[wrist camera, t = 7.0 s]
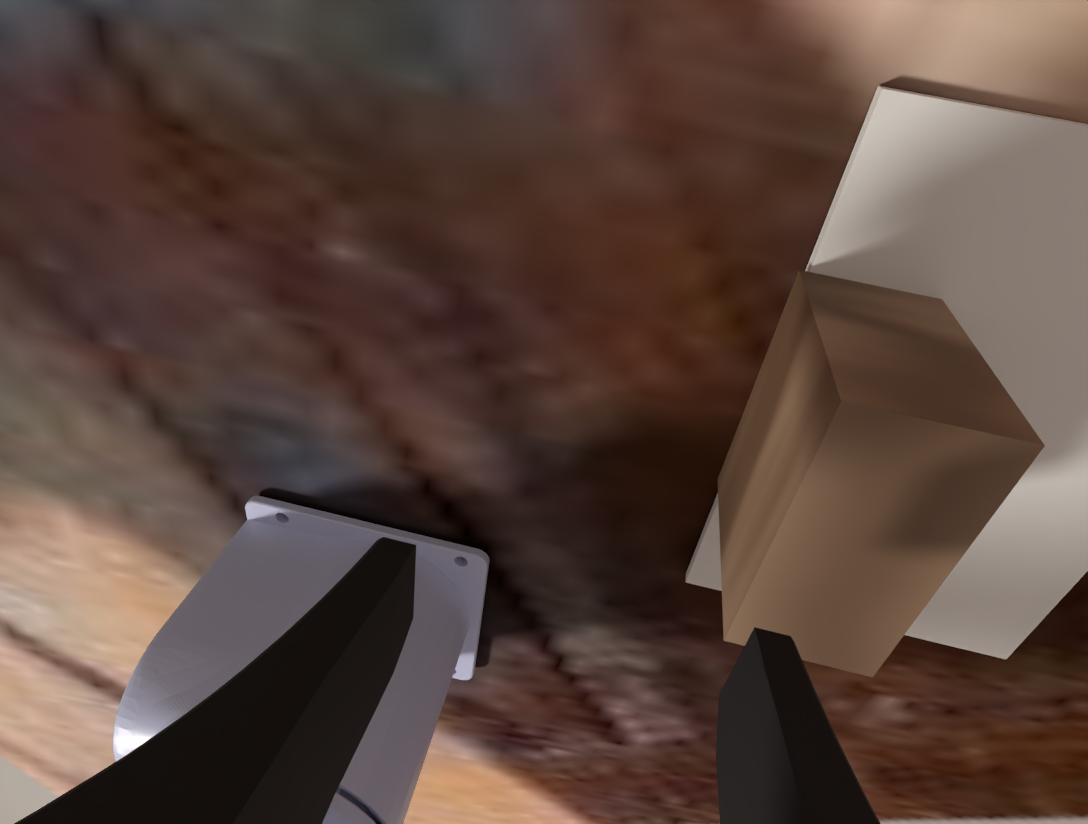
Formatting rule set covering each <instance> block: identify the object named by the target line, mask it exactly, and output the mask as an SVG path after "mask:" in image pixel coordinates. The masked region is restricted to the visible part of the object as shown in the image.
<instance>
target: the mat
mask: <svg viewBox="0 0 1088 824" xmlns="http://www.w3.org/2000/svg"><path fill="white" fill-rule="evenodd" d="M805 271H807V272H812V273H817V274H822V275H827V276H832V277H836V278H841V279H846V280H851V281H856V282H861V283H866V284H870V285H875V286H880V287H885V288H890V289H895V290H900V291H904V292H909V293H914V294H919V295H924V296H929V297H934V298H939V299H942V300H943V301H944V303H945V304H946V305H947V307H948V308H949V310H950V311H951V313H952V314H953V315H954V317H955V318H956V320H957V321H958V323H959V324H960V325H961V327H962V328H963V330H964V331H965V332H966V334H967V335H968V337H969V338H970V340H971V341H972V342H973V344H974V345H975V347H976V348H977V350H978V351H979V352H980V354H981V355H982V357H983V358H984V360H985V361H986V362H987V364H988V365H989V367H990V368H991V369H992V371H993V372H994V374H995V375H996V377H997V378H998V379H999V381H1000V382H1001V384H1002V385H1003V387H1004V388H1005V389H1006V391H1007V392H1008V394H1009V395H1010V397H1011V398H1012V399H1013V401H1014V402H1015V404H1016V405H1017V406H1018V408H1019V409H1020V411H1021V412H1022V414H1023V415H1024V416H1025V418H1026V419H1027V421H1028V422H1029V424H1030V425H1031V426H1032V428H1033V429H1034V431H1035V432H1036V434H1037V435H1038V436H1039V438H1040V439H1041V441H1042V442H1043V443H1044V445H1045V446H1044V448H1043V449H1042V450H1041V452H1040V453H1039V454H1038V456H1037V457H1036V459H1035V460H1034V461H1033V463H1032V464H1031V465H1030V467H1029V468H1028V469H1027V471H1026V472H1025V473H1024V475H1023V476H1022V477H1021V479H1020V480H1019V481H1018V483H1017V484H1016V485H1015V487H1014V488H1013V489H1012V491H1011V492H1010V493H1009V495H1008V496H1007V497H1006V499H1005V500H1004V501H1003V503H1002V504H1001V506H1000V507H999V508H998V510H997V511H996V512H995V514H994V515H993V516H992V518H991V519H990V520H989V522H988V523H987V524H986V526H985V527H984V528H983V530H982V531H981V532H980V534H979V535H978V536H977V538H976V539H975V540H974V542H973V543H972V544H971V546H970V547H969V549H968V550H967V551H966V553H965V554H964V555H963V557H962V558H961V559H960V561H959V562H958V563H957V565H956V566H955V567H954V569H953V570H952V571H951V573H950V574H949V575H948V577H947V578H946V579H945V581H944V582H943V583H942V585H941V586H940V587H939V589H938V590H937V592H936V593H935V594H934V596H933V597H932V598H931V600H930V601H929V602H928V604H927V605H926V606H925V608H924V609H923V610H922V612H921V613H920V614H919V616H918V617H917V618H916V620H915V621H914V622H913V624H912V625H911V626H910V628H909V629H908V630H907V632H906V633H905V635H906V636H911V637H915V638H919V639H923V640H927V641H931V642H936V643H940V644H944V645H948V646H952V647H956V648H960V649H965V650H969V651H973V652H977V653H981V654H985V655H990V656H994V657H998V658H1002V659H1007V658H1008V657H1009V656H1010V655H1011V654H1012V653H1013V652H1014V650H1015V649H1016V648H1017V647H1018V646H1019V645H1020V644H1021V643H1022V642H1023V641H1024V640H1025V639H1026V637H1027V636H1028V635H1029V634H1030V633H1031V632H1032V631H1033V630H1034V629H1035V628H1036V627H1037V625H1038V624H1039V623H1040V622H1041V621H1042V620H1043V619H1044V618H1045V617H1046V616H1047V615H1048V613H1049V612H1050V611H1051V610H1052V609H1053V608H1054V607H1055V606H1056V605H1057V604H1058V603H1059V602H1060V600H1061V599H1062V598H1063V597H1064V596H1065V595H1066V594H1067V593H1068V592H1069V591H1070V590H1071V588H1072V587H1073V586H1074V585H1075V584H1076V583H1077V582H1078V581H1079V580H1080V579H1081V578H1082V577H1083V575H1084V574H1085V573H1086V572H1087V571H1088V124H1085V123H1080V122H1074V121H1069V120H1063V119H1058V118H1053V117H1047V116H1042V115H1036V114H1031V113H1025V112H1020V111H1014V110H1009V109H1003V108H998V107H992V106H987V105H982V104H976V103H971V102H965V101H960V100H954V99H949V98H943V97H938V96H932V95H927V94H921V93H916V92H910V91H905V90H900V89H894V88H889V87H883V86H878V88H877V90H876V93H875V95H874V98H873V100H872V103H871V105H870V108H869V111H868V113H867V116H866V118H865V121H864V123H863V126H862V128H861V131H860V133H859V136H858V138H857V141H856V143H855V146H854V149H853V151H852V154H851V156H850V159H849V161H848V164H847V166H846V169H845V171H844V174H843V176H842V179H841V181H840V184H839V187H838V189H837V192H836V194H835V197H834V199H833V202H832V204H831V207H830V209H829V212H828V214H827V217H826V219H825V222H824V225H823V227H822V230H821V232H820V235H819V237H818V240H817V242H816V245H815V247H814V250H813V252H812V255H811V257H810V260H809V263H808V265H807V268H806V270H805ZM685 582H686V583H690V584H694V585H698V586H702V587H707V588H711V589H715V590H719V591H722V583H721V557H720V531H719V505H718V493H717V496H716V498H715V501H714V503H713V506H712V508H711V511H710V513H709V516H708V518H707V521H706V524H705V526H704V529H703V531H702V534H701V536H700V539H699V541H698V544H697V546H696V549H695V551H694V554H693V556H692V559H691V562H690V564H689V567H688V569H687V572H686V581H685Z"/></svg>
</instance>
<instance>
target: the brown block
mask: <svg viewBox="0 0 1088 824" xmlns="http://www.w3.org/2000/svg"><path fill="white" fill-rule="evenodd" d="M1044 446H1045V445H1044V443H1043V442H1042V441H1041V439H1040V438H1039V436H1038V435H1037V434H1036V432H1035V431H1034V429H1033V428H1032V426H1031V425H1030V424H1029V422H1028V421H1027V419H1026V418H1025V416H1024V415H1023V414H1022V412H1021V411H1020V409H1019V408H1018V406H1017V405H1016V404H1015V402H1014V401H1013V399H1012V398H1011V397H1010V395H1009V394H1008V392H1007V391H1006V389H1005V388H1004V387H1003V385H1002V384H1001V382H1000V381H999V379H998V378H997V377H996V375H995V374H994V372H993V371H992V369H991V368H990V367H989V365H988V364H987V362H986V361H985V360H984V358H983V357H982V355H981V354H980V352H979V351H978V350H977V348H976V347H975V345H974V344H973V342H972V341H971V340H970V338H969V337H968V335H967V334H966V332H965V331H964V330H963V328H962V327H961V325H960V324H959V323H958V321H957V320H956V318H955V317H954V315H953V314H952V313H951V311H950V310H949V308H948V307H947V305H946V304H945V303H944V301H943V300H942V299H939V298H934V297H929V296H924V295H919V294H914V293H909V292H904V291H900V290H895V289H890V288H885V287H880V286H875V285H870V284H866V283H861V282H856V281H851V280H846V279H841V278H836V277H832V276H827V275H822V274H817V273H812V272H807V271H802V270H799V272H798V274H797V277H796V279H795V282H794V284H793V287H792V290H791V292H790V295H789V297H788V300H787V302H786V305H785V308H784V310H783V313H782V315H781V318H780V320H779V323H778V325H777V328H776V331H775V333H774V336H773V338H772V341H771V343H770V346H769V348H768V351H767V354H766V356H765V359H764V361H763V364H762V366H761V369H760V372H759V374H758V377H757V379H756V382H755V384H754V387H753V389H752V392H751V395H750V397H749V400H748V402H747V405H746V407H745V410H744V413H743V415H742V418H741V420H740V423H739V425H738V428H737V430H736V433H735V436H734V438H733V441H732V443H731V446H730V448H729V451H728V453H727V456H726V459H725V461H724V464H723V466H722V469H721V471H720V474H719V477H718V505H719V531H720V557H721V583H722V609H723V635H724V641H727V642H731V643H735V644H739V645H743V646H745V645H746V643H747V641H748V639H749V637H750V635H751V633H752V631H753V629H754V627H756V628H760V629H764V630H768V631H772V632H776V633H780V634H784V635H789V636H791V637H792V639H793V640H794V642H795V644H796V647H797V649H798V652H799V654H800V656H801V659H802V660H804V661H808V662H812V663H816V664H820V665H825V666H829V667H833V668H837V669H841V670H845V671H849V672H853V673H857V674H861V675H865V676H869V677H873V676H874V675H875V673H876V672H877V671H878V669H879V668H880V667H881V665H882V664H883V663H884V661H885V660H886V659H887V657H888V656H889V655H890V653H891V652H892V651H893V649H894V648H895V647H896V645H897V644H898V643H899V641H900V640H901V639H902V637H903V636H904V635H905V633H906V632H907V630H908V629H909V628H910V626H911V625H912V624H913V622H914V621H915V620H916V618H917V617H918V616H919V614H920V613H921V612H922V610H923V609H924V608H925V606H926V605H927V604H928V602H929V601H930V600H931V598H932V597H933V596H934V594H935V593H936V592H937V590H938V589H939V587H940V586H941V585H942V583H943V582H944V581H945V579H946V578H947V577H948V575H949V574H950V573H951V571H952V570H953V569H954V567H955V566H956V565H957V563H958V562H959V561H960V559H961V558H962V557H963V555H964V554H965V553H966V551H967V550H968V549H969V547H970V546H971V544H972V543H973V542H974V540H975V539H976V538H977V536H978V535H979V534H980V532H981V531H982V530H983V528H984V527H985V526H986V524H987V523H988V522H989V520H990V519H991V518H992V516H993V515H994V514H995V512H996V511H997V510H998V508H999V507H1000V506H1001V504H1002V503H1003V501H1004V500H1005V499H1006V497H1007V496H1008V495H1009V493H1010V492H1011V491H1012V489H1013V488H1014V487H1015V485H1016V484H1017V483H1018V481H1019V480H1020V479H1021V477H1022V476H1023V475H1024V473H1025V472H1026V471H1027V469H1028V468H1029V467H1030V465H1031V464H1032V463H1033V461H1034V460H1035V459H1036V457H1037V456H1038V454H1039V453H1040V452H1041V450H1042V449H1043V448H1044Z"/></svg>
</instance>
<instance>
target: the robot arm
mask: <svg viewBox="0 0 1088 824" xmlns="http://www.w3.org/2000/svg"><path fill="white" fill-rule="evenodd" d="M245 509H246V515H247V521H246V522H245V523H244V524H243V526H242V527H241V528H240V529H239V531H238V532H237V533H236V535H235V536H234V537H233V538H232V540H231V541H230V542H229V543H228V545H227V546H226V547H225V548H224V550H223V551H222V552H221V553H220V555H219V556H218V557H217V559H216V560H215V561H214V562H213V564H212V565H211V566H210V567H209V569H208V570H207V571H206V572H205V574H204V575H203V576H202V578H201V579H200V580H199V581H198V583H197V584H196V585H195V586H194V588H193V589H192V590H191V591H190V593H189V594H188V595H187V596H186V598H185V599H184V600H183V602H182V603H181V604H180V605H179V607H178V608H177V609H176V610H175V612H174V613H173V614H172V615H171V617H170V618H169V619H168V621H167V622H166V623H165V624H164V626H163V627H162V628H161V629H160V631H159V632H158V633H157V634H156V636H155V637H154V639H153V640H152V642H151V643H150V644H149V646H148V647H147V649H146V651H145V652H144V654H143V656H142V657H141V659H140V661H139V662H138V664H137V666H136V668H135V670H134V672H133V674H132V676H131V678H130V680H129V683H128V685H127V687H126V690H125V692H124V694H123V697H122V699H121V702H120V705H119V708H118V712H117V715H116V720H115V725H114V733H113V751H114V758H115V761H116V762H115V763H113V764H112V765H110V766H109V767H107V768H106V769H104V770H102V771H101V772H99V773H97V774H96V775H94V776H92V777H91V778H89V779H88V780H86V781H84V782H83V783H81V784H79V785H78V786H76V787H75V788H73V789H71V790H70V791H68V792H66V793H65V794H63V795H62V796H60V797H58V798H57V799H55V800H53V801H52V802H50V803H48V804H47V805H45V806H44V807H42V808H40V809H39V810H37V811H35V812H34V813H32V814H30V815H28V816H27V817H25V818H23V819H22V820H20V821H18V822H16V823H15V824H403V822H404V819H405V816H406V813H407V810H408V807H409V804H410V801H411V798H412V796H413V793H414V790H415V787H416V784H417V781H418V778H419V775H420V772H421V769H422V766H423V763H424V760H425V757H426V754H427V751H428V748H429V745H430V742H431V739H432V736H433V733H434V730H435V727H436V724H437V721H438V718H439V715H440V712H441V709H442V706H443V704H444V701H445V698H446V695H447V692H448V689H449V686H450V683H451V680H452V678H456V679H460V680H469V679H471V678H472V677H473V674H474V671H475V665H476V658H477V650H478V643H479V636H480V628H481V621H482V613H483V606H484V598H485V591H486V584H487V576H488V569H489V557H488V555H487V554H486V553H485V552H484V551H482V550H480V549H477V548H473V547H469V546H465V545H461V544H456V543H452V542H448V541H444V540H440V539H436V538H432V537H427V536H423V535H419V534H415V533H411V532H407V531H403V530H399V529H394V528H390V527H386V526H382V525H378V524H374V523H370V522H365V521H361V520H357V519H353V518H349V517H345V516H341V515H337V514H332V513H328V512H324V511H320V510H316V509H312V508H308V507H304V506H299V505H295V504H291V503H287V502H283V501H279V500H275V499H270V498H266V497H262V496H253V497H252V498H251V499H250V500H249V501H248V502H247V504H246V506H245ZM461 557H463V558H465V559H463V558H461ZM716 759H717V778H718V794H719V811H720V824H880V822H879V820H878V818H877V817H876V815H875V813H874V811H873V809H872V807H871V805H870V804H869V802H868V800H867V798H866V796H865V794H864V792H863V790H862V788H861V786H860V784H859V782H858V780H857V778H856V776H855V774H854V772H853V770H852V768H851V766H850V764H849V762H848V760H847V758H846V756H845V754H844V752H843V750H842V748H841V746H840V744H839V742H838V740H837V738H836V735H835V733H834V731H833V729H832V727H831V725H830V723H829V720H828V718H827V716H826V714H825V712H824V709H823V707H822V705H821V703H820V700H819V698H818V696H817V694H816V691H815V689H814V687H813V685H812V682H811V680H810V678H809V675H808V673H807V671H806V668H805V666H804V664H803V661H802V659H801V656H800V654H799V652H798V649H797V647H796V644H795V642H794V640H793V639H792V637H791V636H789V635H784V634H780V633H776V632H772V631H768V630H764V629H760V628H756V627H754V629H753V631H752V633H751V635H750V637H749V639H748V641H747V643H746V645H745V646H744V648H743V650H742V652H741V654H740V656H739V658H738V660H737V662H736V664H735V666H734V668H733V669H732V671H731V673H730V675H729V677H728V679H727V681H726V683H725V685H724V687H723V689H722V691H721V692H720V694H719V709H718V726H717V751H716Z"/></svg>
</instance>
